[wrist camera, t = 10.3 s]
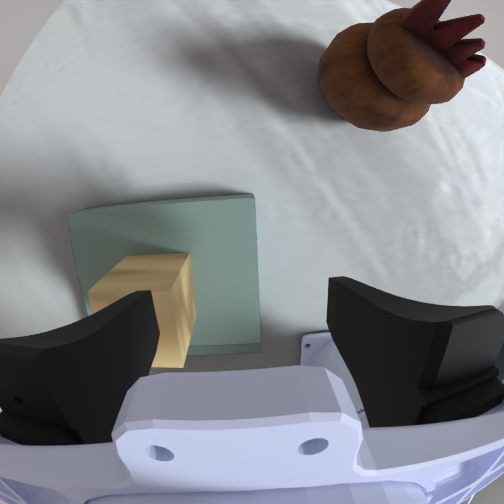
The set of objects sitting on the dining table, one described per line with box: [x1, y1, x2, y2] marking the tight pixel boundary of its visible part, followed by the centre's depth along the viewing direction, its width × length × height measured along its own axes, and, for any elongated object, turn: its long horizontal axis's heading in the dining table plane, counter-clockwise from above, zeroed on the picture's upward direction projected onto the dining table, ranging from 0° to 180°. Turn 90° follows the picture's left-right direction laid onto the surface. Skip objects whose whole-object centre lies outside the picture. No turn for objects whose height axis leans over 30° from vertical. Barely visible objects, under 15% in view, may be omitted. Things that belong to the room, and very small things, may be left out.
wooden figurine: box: [318, 0, 486, 132], centre depth 12 cm, size 7×6×15 cm
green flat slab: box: [67, 194, 261, 355], centre depth 21 cm, size 11×13×3 cm
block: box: [87, 253, 197, 368], centre depth 17 cm, size 4×4×6 cm
